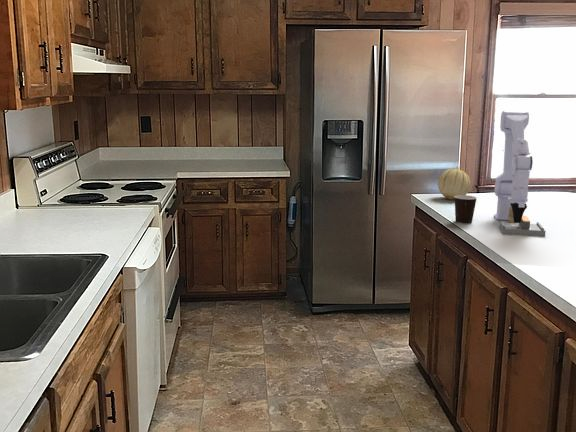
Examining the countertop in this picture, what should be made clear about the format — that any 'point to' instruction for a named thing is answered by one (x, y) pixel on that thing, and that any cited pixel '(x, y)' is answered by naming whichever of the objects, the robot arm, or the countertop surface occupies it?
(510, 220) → the oak post
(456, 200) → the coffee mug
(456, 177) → the cantaloupe
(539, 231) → the box
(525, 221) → the breaker toggle
